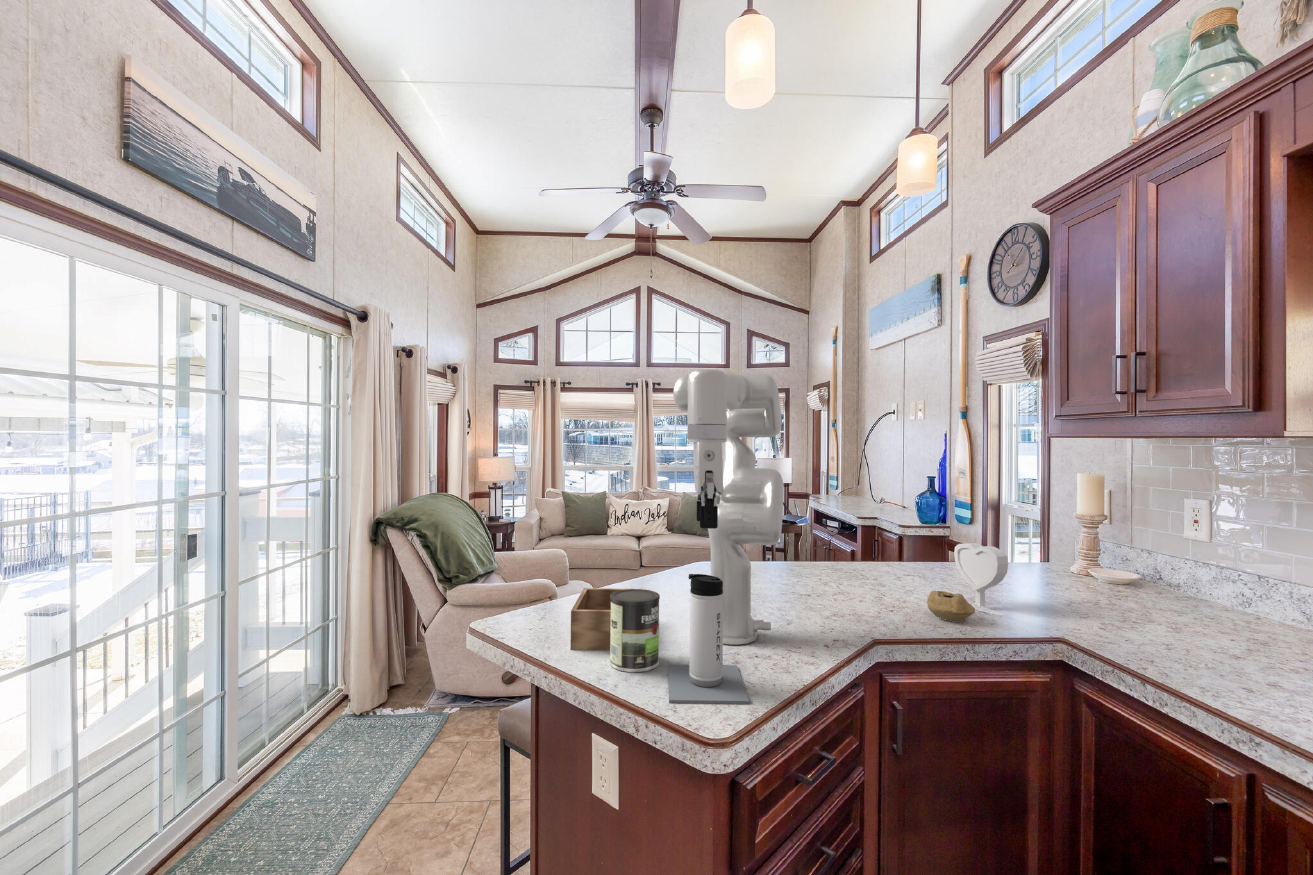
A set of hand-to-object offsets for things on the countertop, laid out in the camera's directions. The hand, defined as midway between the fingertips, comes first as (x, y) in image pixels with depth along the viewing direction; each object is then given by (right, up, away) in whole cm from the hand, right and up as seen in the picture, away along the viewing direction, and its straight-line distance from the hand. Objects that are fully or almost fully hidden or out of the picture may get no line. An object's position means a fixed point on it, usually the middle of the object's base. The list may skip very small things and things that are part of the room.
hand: (706, 524), depth 105 cm
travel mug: (0, -30, -1) cm, 30 cm away
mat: (0, -30, -1) cm, 30 cm away
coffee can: (-14, -31, +9) cm, 35 cm away
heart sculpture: (+82, -32, +51) cm, 102 cm away
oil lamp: (+68, -32, +42) cm, 86 cm away
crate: (-22, -31, +26) cm, 46 cm away
